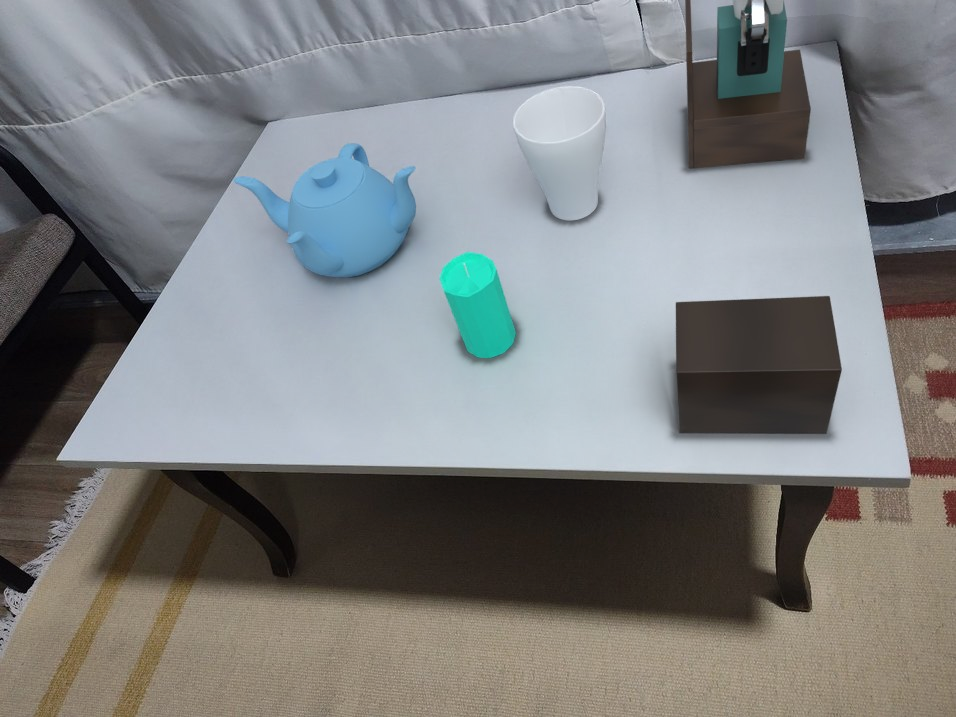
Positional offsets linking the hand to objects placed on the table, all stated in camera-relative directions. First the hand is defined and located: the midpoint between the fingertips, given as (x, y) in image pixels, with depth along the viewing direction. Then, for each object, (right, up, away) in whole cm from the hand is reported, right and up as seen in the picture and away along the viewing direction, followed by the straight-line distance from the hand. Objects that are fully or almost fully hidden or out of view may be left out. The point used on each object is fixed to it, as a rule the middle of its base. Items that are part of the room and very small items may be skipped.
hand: (749, 50), depth 87 cm
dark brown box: (-5, -39, -14) cm, 42 cm away
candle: (-30, -33, -2) cm, 45 cm away
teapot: (-48, -21, +13) cm, 54 cm away
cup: (-19, -16, +8) cm, 26 cm away
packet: (+1, -3, +3) cm, 4 cm away
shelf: (+3, -7, +9) cm, 11 cm away
